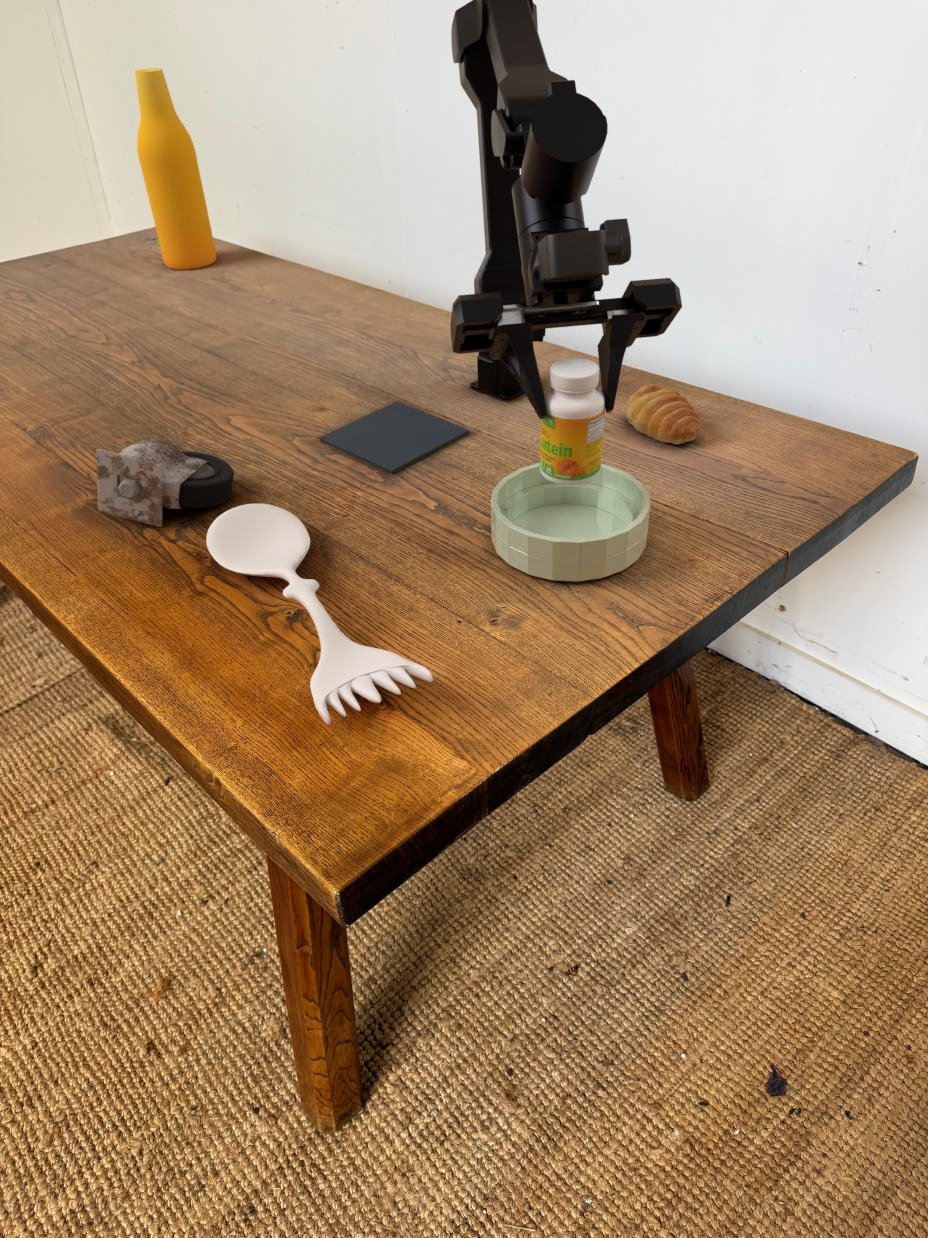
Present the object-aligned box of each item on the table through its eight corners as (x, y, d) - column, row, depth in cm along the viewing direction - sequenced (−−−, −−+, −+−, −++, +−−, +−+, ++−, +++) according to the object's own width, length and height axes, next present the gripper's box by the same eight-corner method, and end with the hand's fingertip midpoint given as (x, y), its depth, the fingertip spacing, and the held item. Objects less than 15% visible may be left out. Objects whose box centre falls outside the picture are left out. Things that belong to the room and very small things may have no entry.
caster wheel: (243, 502, 95) (203, 542, 86) (143, 476, 95) (94, 513, 87) (247, 444, 91) (206, 479, 83) (144, 418, 92) (93, 449, 83)
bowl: (556, 485, 90) (557, 445, 87) (675, 534, 82) (680, 492, 79) (461, 544, 82) (459, 503, 79) (582, 605, 74) (585, 561, 72)
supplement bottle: (527, 474, 78) (528, 369, 72) (562, 450, 81) (566, 348, 75) (577, 493, 75) (582, 386, 69) (612, 468, 78) (620, 363, 72)
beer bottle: (191, 273, 150) (147, 75, 132) (153, 266, 154) (104, 72, 136) (228, 257, 156) (191, 66, 138) (190, 251, 160) (149, 64, 142)
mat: (396, 404, 107) (396, 401, 106) (469, 433, 100) (469, 429, 100) (320, 440, 100) (319, 437, 100) (392, 473, 93) (391, 470, 93)
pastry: (715, 439, 96) (720, 407, 94) (664, 454, 94) (668, 421, 92) (665, 406, 103) (668, 376, 101) (616, 420, 101) (618, 389, 99)
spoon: (328, 752, 62) (322, 718, 60) (197, 541, 84) (189, 510, 82) (440, 705, 66) (437, 670, 64) (286, 514, 88) (280, 483, 86)
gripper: (447, 188, 66) (472, 389, 64) (689, 170, 67) (719, 366, 66) (441, 263, 77) (462, 436, 75) (649, 246, 78) (674, 416, 77)
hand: (576, 414), depth 73 cm, fingers closed on supplement bottle, 5 cm apart
